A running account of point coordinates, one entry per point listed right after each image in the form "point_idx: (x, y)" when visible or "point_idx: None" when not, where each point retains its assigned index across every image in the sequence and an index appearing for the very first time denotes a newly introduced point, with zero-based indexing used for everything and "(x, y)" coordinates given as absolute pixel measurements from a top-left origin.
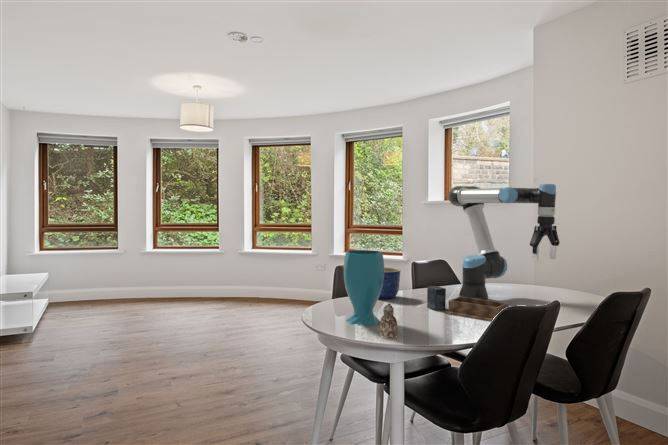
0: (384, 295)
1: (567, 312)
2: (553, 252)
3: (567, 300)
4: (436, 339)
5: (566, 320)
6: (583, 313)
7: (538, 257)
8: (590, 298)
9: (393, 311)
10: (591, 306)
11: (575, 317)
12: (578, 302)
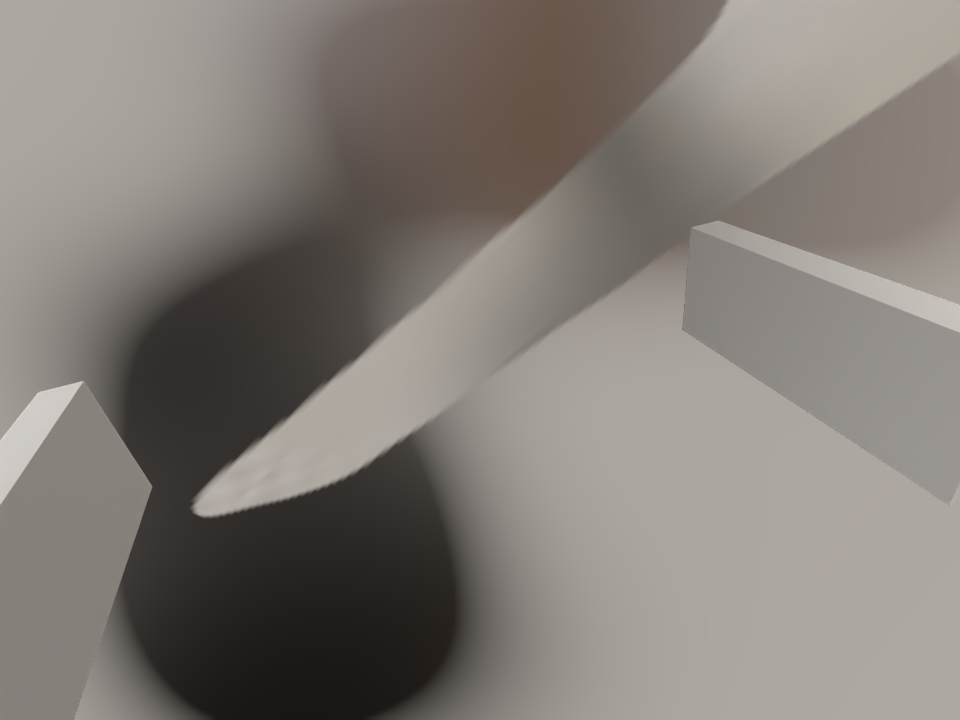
0: None
1: (436, 313)
2: (788, 360)
3: (762, 5)
4: None
5: (271, 462)
6: (504, 353)
7: (133, 540)
8: (932, 27)
9: None
10: None
11: (380, 417)
12: (755, 99)
